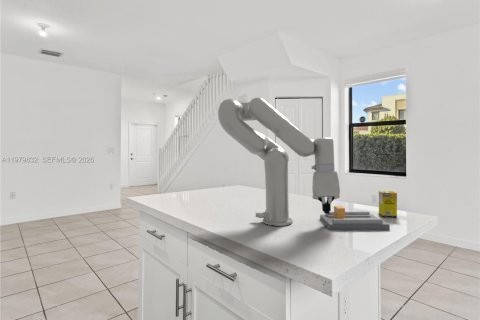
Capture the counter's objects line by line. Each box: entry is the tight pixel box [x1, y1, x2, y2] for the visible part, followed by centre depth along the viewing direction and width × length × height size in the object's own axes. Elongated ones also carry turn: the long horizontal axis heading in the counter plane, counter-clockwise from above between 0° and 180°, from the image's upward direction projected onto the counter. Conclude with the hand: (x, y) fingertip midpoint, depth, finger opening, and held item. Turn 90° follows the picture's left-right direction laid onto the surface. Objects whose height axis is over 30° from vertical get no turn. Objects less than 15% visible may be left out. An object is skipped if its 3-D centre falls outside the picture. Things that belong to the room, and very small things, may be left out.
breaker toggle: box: [333, 205, 346, 219], centre depth 111 cm, size 3×5×5 cm, turn 176°
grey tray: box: [324, 210, 384, 224], centre depth 111 cm, size 18×14×2 cm
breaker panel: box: [319, 213, 391, 231], centre depth 111 cm, size 22×16×3 cm
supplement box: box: [378, 190, 398, 219], centre depth 123 cm, size 6×6×11 cm
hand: (326, 212), depth 111 cm, fingers closed
